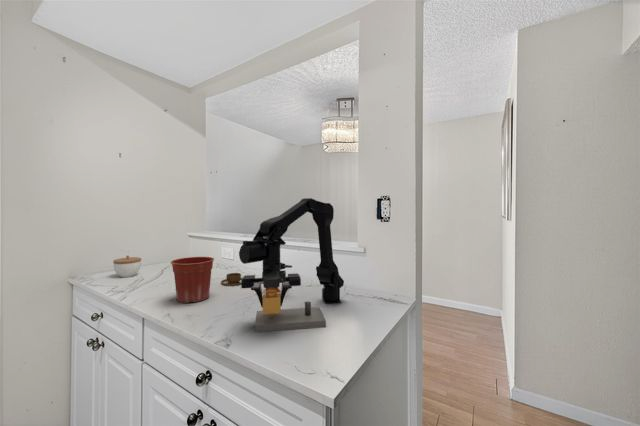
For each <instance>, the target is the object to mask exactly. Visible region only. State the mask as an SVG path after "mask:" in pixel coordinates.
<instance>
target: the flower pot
mask: <svg viewBox="0 0 640 426" xmlns="http://www.w3.org/2000/svg"><path fill="white" fill-rule="evenodd" d="M214 262H215V258H214V257H210V256H192V257H190V256H189V257H182V258H177V259H176V258H175V259H173V260H171V261H170V264H171V267H172V272H173V275H174V284H175V285H174V286H175V292H176V294H175V295H176V301H177V302H178V303H182V304H189V303H191V302H193V303H199V302H202V301H205V300H207V299H208V298H210V288H211V280H212V279H211V277H212V269H213V265H214Z"/></svg>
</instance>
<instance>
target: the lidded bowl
mask: <svg viewBox="0 0 640 426" xmlns="http://www.w3.org/2000/svg"><path fill="white" fill-rule="evenodd" d="M112 262H113V270H114V272H115V273H116V275H118V277H119V278H131V277H134V276H136V275H137V274H138V273H139V272H140V270H141V267H142V258H141V257H137V256H134V257H130V256H129V255H126V257H122V258H121V257H120V258H117V259H114V260H113V261H112Z"/></svg>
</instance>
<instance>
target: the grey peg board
mask: <svg viewBox="0 0 640 426" xmlns="http://www.w3.org/2000/svg"><path fill="white" fill-rule="evenodd" d="M311 305H312V302H311V301H304V307H300V308H299V307H298V308H285V309H283V308H282V309H281V313H270V314H263V310H256V315H255V320H254V321H255V323H254V332H255V333H257V332H258V333H259V332H260V333H261V332H271V331H287V330H301V329H316V328H326V327H327V320H326V318H325V316H324V314H323V311H322V309H321V307H320V306H319V307H312V306H311Z"/></svg>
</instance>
